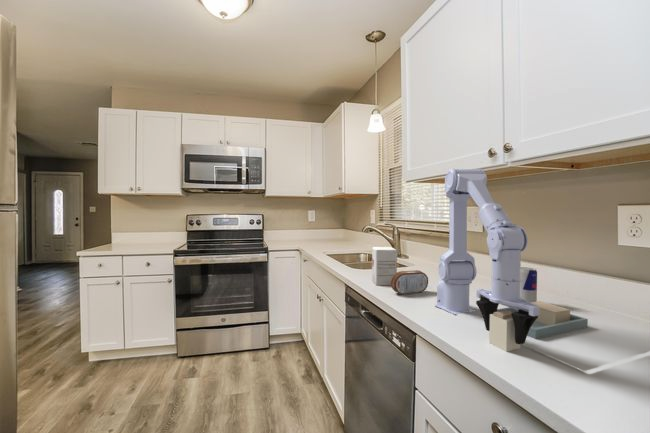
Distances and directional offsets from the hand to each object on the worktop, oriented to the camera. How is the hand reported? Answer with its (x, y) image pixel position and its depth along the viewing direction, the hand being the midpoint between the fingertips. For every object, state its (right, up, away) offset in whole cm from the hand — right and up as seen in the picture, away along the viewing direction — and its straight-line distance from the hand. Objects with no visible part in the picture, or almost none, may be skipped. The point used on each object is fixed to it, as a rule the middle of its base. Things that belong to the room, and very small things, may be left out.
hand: (504, 336), depth 70 cm
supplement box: (-17, -1, +59) cm, 61 cm away
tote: (+16, -2, +12) cm, 20 cm away
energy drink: (+25, -2, +30) cm, 39 cm away
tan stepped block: (+20, -1, +14) cm, 25 cm away
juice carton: (0, -2, 0) cm, 2 cm away
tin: (-10, -1, +43) cm, 44 cm away
